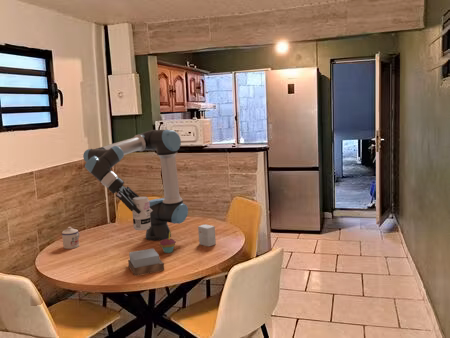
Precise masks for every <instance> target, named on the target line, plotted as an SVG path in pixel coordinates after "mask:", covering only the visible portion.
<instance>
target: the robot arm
mask: <svg viewBox="0 0 450 338" xmlns="http://www.w3.org/2000/svg"><path fill="white" fill-rule="evenodd" d="M181 145H182V142H181V137H180V135H179V133H178V132H176V131H175V130H173V129H172V130H171V129H151V130H148V131H144V132H141V133H139V134H135V135H134V136H133V137H132V138H128V139H123V140H121V141H117V142H113V143H111V144H108V145H105V146H104V145H103V146H101V147H98V148H89V149H86V150H85V151H84V152H83V154H82V155H83V156H82V157H83V161H84V162H85V164H84V168H85V169H86V170H87V171H88V172H89V173H90V174H91V175H92V176H93V177H94V178H96V180H97V181H98V182H100V183H101V184H102V186H104V187H105V188H107V189H108V191H110V193H112V194H115V197H117V198H118V199H119V200H120V201H121V202H122V203H123V204H124V205H125V206H126V207H127V208H128V209H129V211H131V212H132V211H133V210H134V211H135V212H136V213H137V214H138V215H139V216H140V217H142V218H143V219H145V218H146V217H147V214H146V213H145V212H144V211H143V210H142V209H141V208H140V207H138V206H137V207H136V205H135V203H134V202H133V201H132V200H133V198H135V197H141V196H139V195H138V194H137V193H136V192H135V191H134V190H133V189H131V188H130V187H129V186H124V184H125V182H124V180H122V179H121V178H120V177H119V176H118V175H117V174H116V173H115V172H114V171H113V170H112V168H114V166H116V165H117V164H118V163H119V162H121V160H122V159H124V156H126V155H128V154H131V153H135V152H143V151H156V155H157V156H158V157H159V160H160V167H161V168H160V169H161V175H162V176H161V178H162V184H163V193H164V194H163V195H164V197H161V198H155V199H149V205H150V219H151V227H150V228H149V229H147V230H145V240H147V241H153V242H154V241H156V242H157V241H162V240H163V239H168V238H169V232H170V238H171V237H172V233H171V229H170V227H169V224H168V223H171V224H178V225H179V224H182V223H184V222H185V220H186V218H187V217H188V215H189V208H188V206H187V204H185V203H184V199H183V198H182V197H181V196H180V188H179V178H178V170H177V169H178V168H177V158H176V156H177V154H178V150H179V149H180V148H181Z"/></svg>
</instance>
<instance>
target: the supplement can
mask: <svg viewBox="0 0 450 338" xmlns="http://www.w3.org/2000/svg"><path fill="white" fill-rule="evenodd" d="M132 201H133V202H134V203H135V205H136V207H137V206H138V207H140V208H141V209H142V210H143V211H144V212H145V213H146V214H147V217H146V218H145V219H143V218H142V217H140V216H139V215H138V214H137V213H136V212H135V211H134V210H133V211H131V212H132V224H133V226H132V227H133V229H134V230H135V231H147V229H149V228H150V227H151V219H150V205H149V201H150V199H149V197H148V196H146V195H145V196H143V195H142V196H140V197H135V198H133V200H132Z"/></svg>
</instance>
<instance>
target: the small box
mask: <svg viewBox="0 0 450 338" xmlns="http://www.w3.org/2000/svg"><path fill="white" fill-rule="evenodd" d="M197 229H198V232H197V234H198V243H199V245H201V246H204V247H212V246H215V245H216V244H217V242H216V227H215V226H214V225H211V224H210V225H209V224H201V225H198V226H197Z"/></svg>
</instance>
